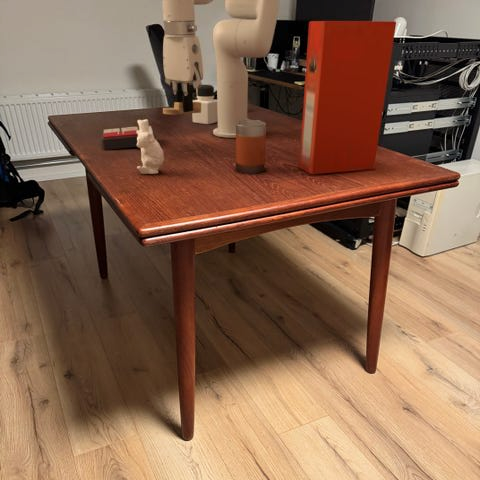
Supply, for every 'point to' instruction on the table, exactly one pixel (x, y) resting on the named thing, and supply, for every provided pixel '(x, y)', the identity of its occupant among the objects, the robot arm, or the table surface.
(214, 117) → the medicine bottle
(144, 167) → the white squirrel figurine
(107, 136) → the calculator
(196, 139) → the table surface
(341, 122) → the file binder
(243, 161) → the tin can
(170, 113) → the wooden spoon
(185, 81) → the robot arm
